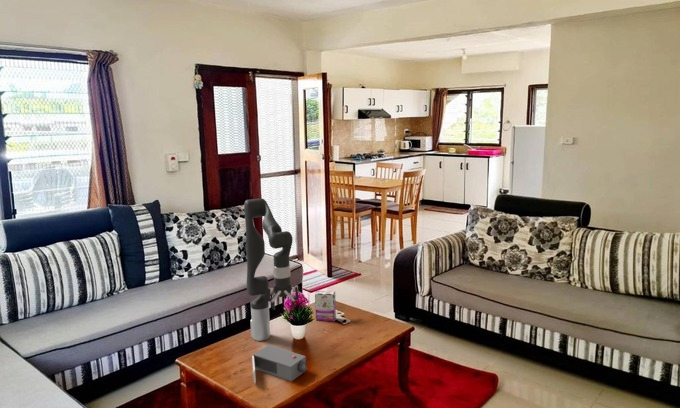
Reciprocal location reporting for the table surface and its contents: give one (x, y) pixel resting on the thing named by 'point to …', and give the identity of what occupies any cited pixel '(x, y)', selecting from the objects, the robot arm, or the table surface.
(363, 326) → the table surface
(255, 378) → the side door
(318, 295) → the candy bar box
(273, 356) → the camera box
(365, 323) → the table surface
